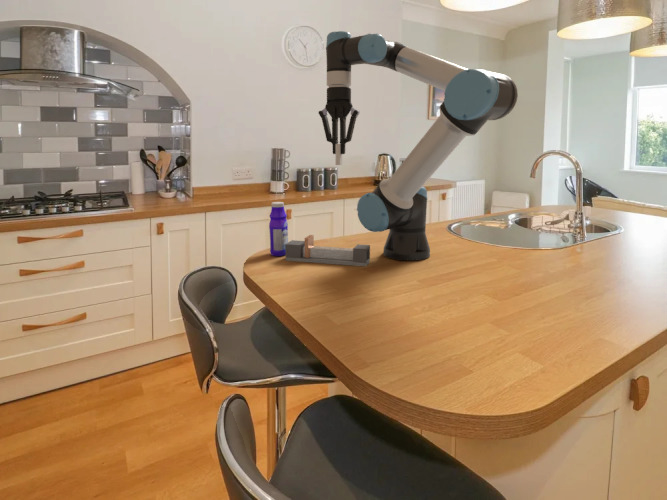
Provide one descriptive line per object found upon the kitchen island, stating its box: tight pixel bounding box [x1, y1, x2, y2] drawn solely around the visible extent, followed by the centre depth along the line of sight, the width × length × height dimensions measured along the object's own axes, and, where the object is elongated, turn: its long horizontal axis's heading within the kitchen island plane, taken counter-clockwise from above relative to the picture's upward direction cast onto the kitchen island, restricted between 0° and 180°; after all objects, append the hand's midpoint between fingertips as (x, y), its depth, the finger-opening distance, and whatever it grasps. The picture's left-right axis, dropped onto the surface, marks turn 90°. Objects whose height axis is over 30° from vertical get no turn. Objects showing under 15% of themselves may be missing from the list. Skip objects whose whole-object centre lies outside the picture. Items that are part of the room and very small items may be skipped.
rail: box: [285, 239, 371, 267], centre depth 148 cm, size 26×6×5 cm, turn 74°
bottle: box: [268, 201, 289, 257], centre depth 155 cm, size 7×6×17 cm
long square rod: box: [301, 234, 353, 260], centre depth 148 cm, size 21×5×6 cm, turn 74°
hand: (338, 164), depth 151 cm, fingers closed
